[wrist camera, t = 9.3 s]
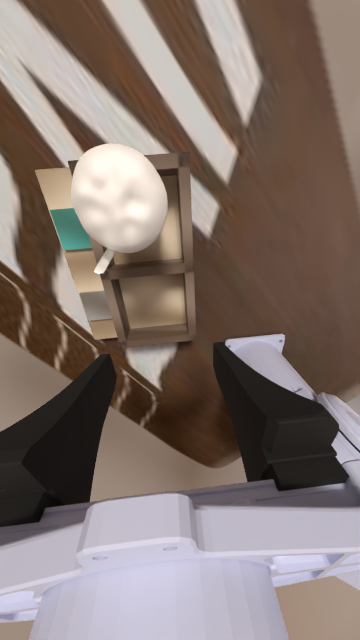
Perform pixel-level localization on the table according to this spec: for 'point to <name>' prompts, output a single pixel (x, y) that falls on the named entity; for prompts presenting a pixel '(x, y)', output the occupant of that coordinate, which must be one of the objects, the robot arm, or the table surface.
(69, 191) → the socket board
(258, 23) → the table surface
